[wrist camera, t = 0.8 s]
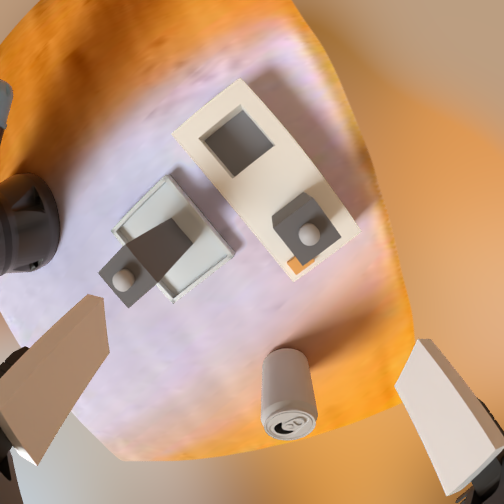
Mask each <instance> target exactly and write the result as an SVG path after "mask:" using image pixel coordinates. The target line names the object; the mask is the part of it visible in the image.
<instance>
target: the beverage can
mask: <svg viewBox="0 0 504 504" xmlns="http://www.w3.org/2000/svg"><path fill="white" fill-rule="evenodd" d="M317 417H318V413H317V407H316V401H315V396H314V390H313V385H312V380H311V374H310V369H309V364H308V360H307V358H306V356H305V355H304V354H303V353H302V352H300V351H298V350H295V349H290V348H283V349H279V350H276V351H273V352H272V353H270V354H269V355H268V356H267V357H266V358H265V360H264V362H263V365H262V398H261V422H262V424H263V426H264V429H265V432H266V433H267V434H268V435H269V436H271V437H273V438H275V439H279V440H295V439H299V438H302V437H304V436H306V435H308V434H309V433H311V432H312V431H313V429H314V428H315V425H316V420H317Z"/></svg>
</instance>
